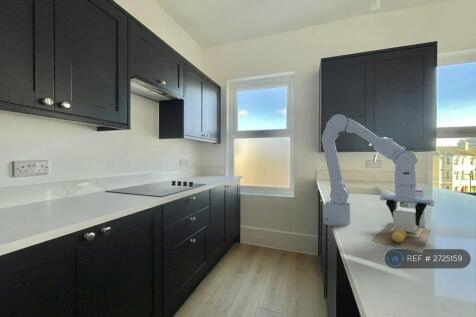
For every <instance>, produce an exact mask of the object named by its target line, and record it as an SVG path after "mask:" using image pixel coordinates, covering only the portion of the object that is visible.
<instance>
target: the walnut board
mask: <svg viewBox="0 0 476 317" xmlns="http://www.w3.org/2000/svg"><path fill="white" fill-rule="evenodd" d="M395 230H397V229H394V228H393V222H389V223H387V225H386V226H385V227H384V228H382V229H381V230H380V232H379V233H378V234H377V235H376V236H375V237H374V238H373V239H372V240H371V242H374V243H378V244H384V245H387V246H392V247H395V248H399V249H403V250H407V251H411V252H412V251H413V252H415V253H420V254H424V251H425V248H426V245H427V244H428V240H429V237H430V234H431V231H432V230H431V229H427V228H423V227H417V229H416V231H415V233H413V232H407V231H405V232H406V238H404V241H403V242H401V243H398V242H395V241H394V240H393V239H392V234H393V233H395Z"/></svg>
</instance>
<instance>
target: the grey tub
mask: <svg viewBox="0 0 476 317" xmlns="http://www.w3.org/2000/svg"><path fill="white" fill-rule="evenodd" d="M392 219H393V220H392V223H393V228H394V229H402V230H404V231H407V232H413V233H415V231H416V229H417V228H419V226H416V209H414V208H406V207H400V206H397V208H396V209H395V210H394V211H393V217H392Z"/></svg>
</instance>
